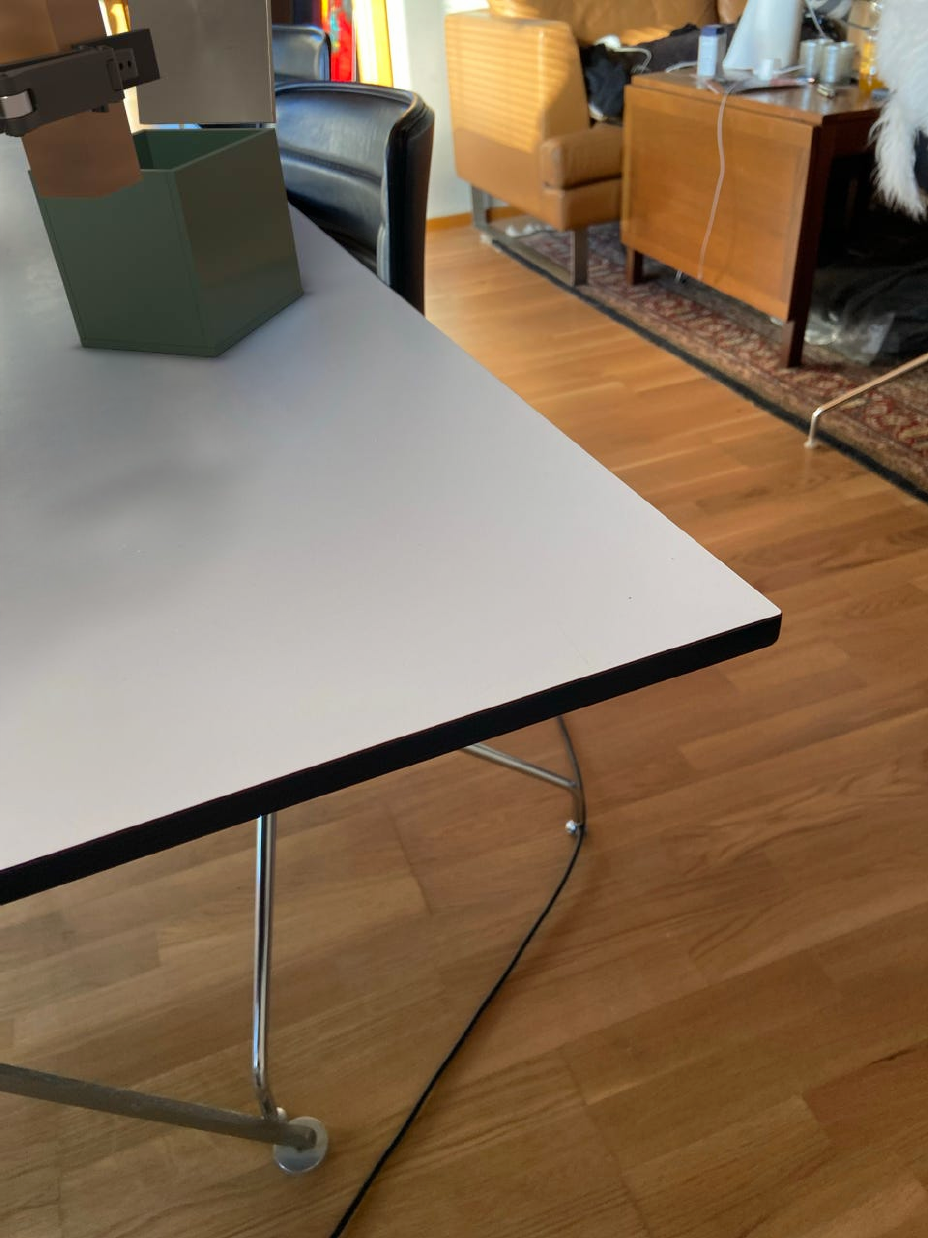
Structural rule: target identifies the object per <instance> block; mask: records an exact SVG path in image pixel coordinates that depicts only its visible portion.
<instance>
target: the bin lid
mask: <svg viewBox="0 0 928 1238" xmlns="http://www.w3.org/2000/svg"><path fill="white" fill-rule="evenodd" d="M271 1H272V0H127V5H128V16H129V17H128V18H129V25H130V31H131V30H136V29H143V28H149V29H150V33H151V38H152V42H153V47H154V51H155V55H156V60H157V64H158V69H159V73H160V78H161V79H158V80H155V81H152V82H149V83H145V84H142V85H139V86H136V87H135V91H136V101H137V109H138V110H137V112H138V113H137V114H138V122H139V125H143V126H145V125H148V126H149V125H152V126H153V125H157V126H158V125H179V124H184V125H234V124H235V125H236V124H237V125H239V124H240V125H241V124H242V125H243V124H244V125H249V124H277V109H276V88H275V66H274V65H275V64H274V47H273V46H274V44H273V23H272V4H271V3H272V2H271Z"/></svg>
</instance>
